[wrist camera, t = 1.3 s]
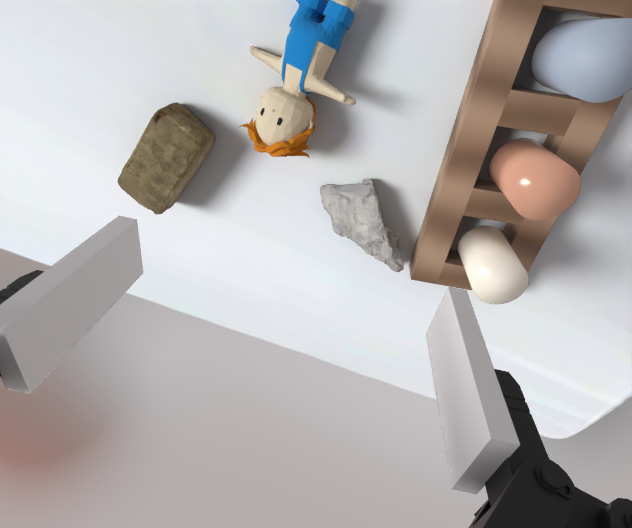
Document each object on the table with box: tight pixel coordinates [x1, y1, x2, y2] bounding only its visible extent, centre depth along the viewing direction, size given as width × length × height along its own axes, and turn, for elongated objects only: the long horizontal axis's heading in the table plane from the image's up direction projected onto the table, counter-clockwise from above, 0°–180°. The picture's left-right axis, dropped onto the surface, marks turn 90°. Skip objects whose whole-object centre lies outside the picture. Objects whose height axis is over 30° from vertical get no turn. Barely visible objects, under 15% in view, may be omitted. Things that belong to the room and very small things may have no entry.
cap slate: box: [532, 18, 632, 103], centre depth 27 cm, size 5×5×7 cm
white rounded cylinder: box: [458, 226, 529, 304], centre depth 37 cm, size 5×5×7 cm
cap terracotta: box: [490, 138, 581, 220], centre depth 32 cm, size 5×5×7 cm
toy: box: [239, 0, 358, 157], centre depth 34 cm, size 12×6×15 cm
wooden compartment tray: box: [409, 0, 632, 290], centre depth 36 cm, size 30×12×3 cm, turn 173°
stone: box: [320, 179, 404, 272], centre depth 42 cm, size 6×12×4 cm, turn 27°
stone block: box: [118, 103, 215, 214], centre depth 40 cm, size 6×12×5 cm, turn 141°
